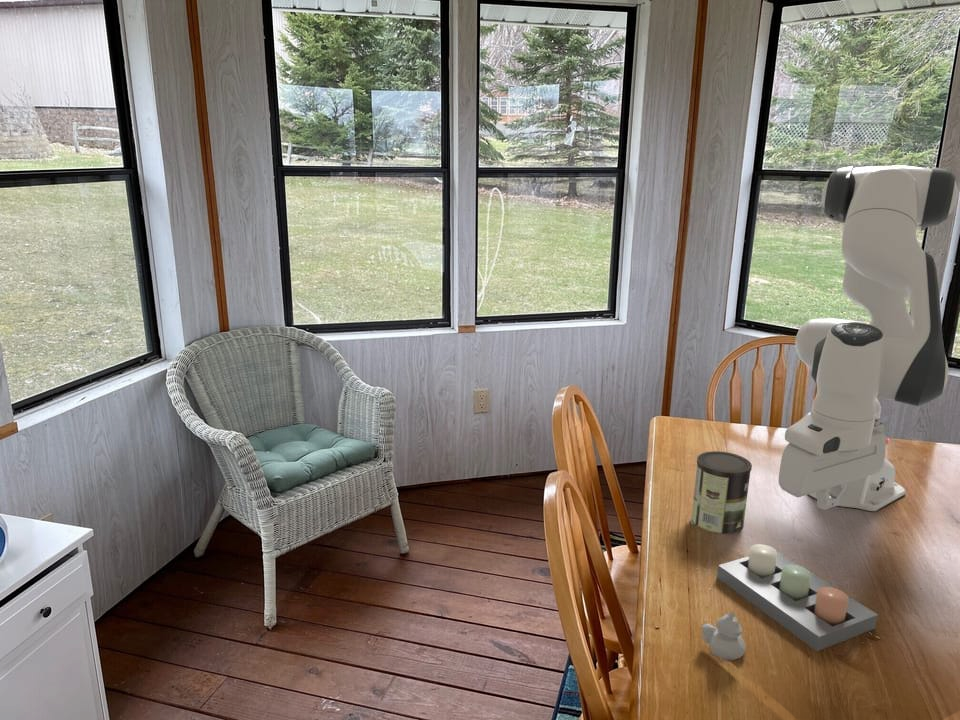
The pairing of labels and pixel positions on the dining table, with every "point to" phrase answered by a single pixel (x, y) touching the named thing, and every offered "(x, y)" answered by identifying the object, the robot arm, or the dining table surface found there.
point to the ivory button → (762, 560)
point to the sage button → (795, 581)
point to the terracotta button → (831, 605)
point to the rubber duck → (725, 637)
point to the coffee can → (720, 492)
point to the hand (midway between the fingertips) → (827, 506)
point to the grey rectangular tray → (795, 604)
